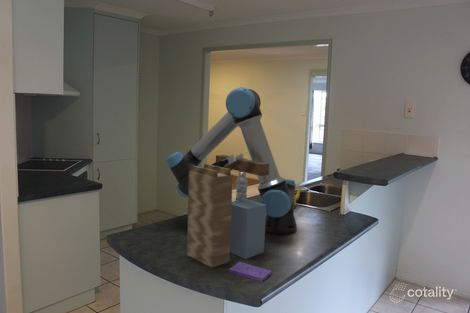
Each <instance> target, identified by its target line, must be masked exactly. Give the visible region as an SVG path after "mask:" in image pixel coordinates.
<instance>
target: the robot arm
mask: <svg viewBox="0 0 470 313" xmlns="http://www.w3.org/2000/svg"><path fill="white" fill-rule="evenodd" d="M261 102H262V101H261V98H260V95H259V94H258V93H257V91H255V90H254V89H251V88H248V87H241V86H240V87H237V88H234V89H232V90H231V91H229V93H228V94H227V96H226V98H225V108H226V110H227V112H226V113H225V114H224V115H223V116H222V117H221V118H220V119H219V121H217V123H215V124H214V125H213V126H212V127H211V128H210V129H209V130H208V131H207V132H206V133H205V134H204V135H203V136H202V137H201V138H200V139H199V140H198V141H196V144H194V145H193V146H192V148H190V150H188V151H187V152H186V154H183V153H182V152H181V151H176V152H173V153H172V154H170V155H169V156H168V157H166V159H165V161H166V163H167V166H168V168H169V170H170V171H171V173H172V174H173V176H174V178H175V179H176V181H177V183H178V184H177V185H176V191H177V193H178V195H179V196H181V197H183V198H188V185H189V171H191V166H192V165H194V166H198V167H200V164H201V163H202V162H203V160H205V158H207V157H208V156H209V155H210V154H211V153H212V152H213V151H214V150H215V149H216V148H217V147H218V146H219V145H220V144H221V143H222V142H223V141H224V140H225V139H226V138H228V136H229V135H230V134H232V132H233V131H234V130H236V128H237V127H238V128H240V131H241V134H242V136H243V139H244V141H245V142H244V143H245V145H246V148H247V151H248V154H249V156H250V160H252V161H258V162H263V163H268V164H269V175H265V176H259V175H256V176H257V179H258V182H259V184H258V186H257V190H258V193H259V196H260V203H262V204H266V220H265V233H270V234H272V235H273V234H274V235H284V236H285V235H291V234H295V233H296V232H297V229H298V227H297V222H296V221H297V220H296V216H295V214H294V210H295V205H294V197H295V195H296V193H295V192H296V181H295V180H294V179H291V178H290V179H288V178H284V177H282V176H280V173H279V171H278V168H277V164H276V162H275V159H274V156H273V154H272V150H271V148H270V145H269V143H268V139H267V136H266V134H265V130H264V128H263V125H262V122H261V119H262V118H263V114H262V110H261V105H262V104H261ZM228 156H229V157H227V158H226V159H224V160H222V162H221V161H220V162H218V163H217V162H216V161H215V162H214V163H212V164H211V165H213V166H218V167H223V166H224V167H227V166H228V165H230V164H232V163H234V162H235V161H236V158H235V157H237V158H242V159H246V158H245V156H244V153H240V154H238V155H235V153H232V154H231V155H228ZM224 167H223V168H224ZM231 171H233V169H231Z"/></svg>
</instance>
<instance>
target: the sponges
mask: <svg viewBox="0 0 470 313" xmlns="http://www.w3.org/2000/svg"><path fill="white" fill-rule="evenodd" d="M228 273H230V274H235V275H237V276H240V277H243V278H247V279H249V278H250V280H252V281H256V280H257V281H256V282H259V281H261V282H260V283H263V282H264V281H265V280H266V279H268V276H269V277H270V276H271V275H272V270H269V269H265V268H261V267H258V266H254V265H252V264H249V263H245V262H242V261H238V262H237V263H235V264H234V265H233V266H231V267H230V268H229V269H228ZM263 280H264V281H263ZM262 281H263V282H262Z"/></svg>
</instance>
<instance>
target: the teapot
mask: <svg viewBox="0 0 470 313" xmlns="http://www.w3.org/2000/svg"><path fill="white" fill-rule="evenodd" d="M303 189H304V186H302V187H301V186H300V187H298V189H297V191H296V193H295V197H294V206H295V205H296V203H297V201H298V200H299V198H300V195H301V191H302V190H303Z"/></svg>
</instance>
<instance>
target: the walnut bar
mask: <svg viewBox="0 0 470 313" xmlns="http://www.w3.org/2000/svg"><path fill="white" fill-rule="evenodd" d="M229 156H230V155H225V154H218V155H215V162H217V163H218V162H220V161H221V162H222V160H224V159H226V158H227V157H229ZM235 158H236V161H235V162H234V163H232V164H230V165H228V166H227V167H224V166H223V167H224V168H228V169H233V170H234V171H237V172H239V171H241V172H246V174H251V175H255V176H257V175H259V176H265V175H269V164H268V163H263V162H258V161H252V159H247V158H245V159H242V158H237V156H235ZM233 170H232V171H233Z"/></svg>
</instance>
